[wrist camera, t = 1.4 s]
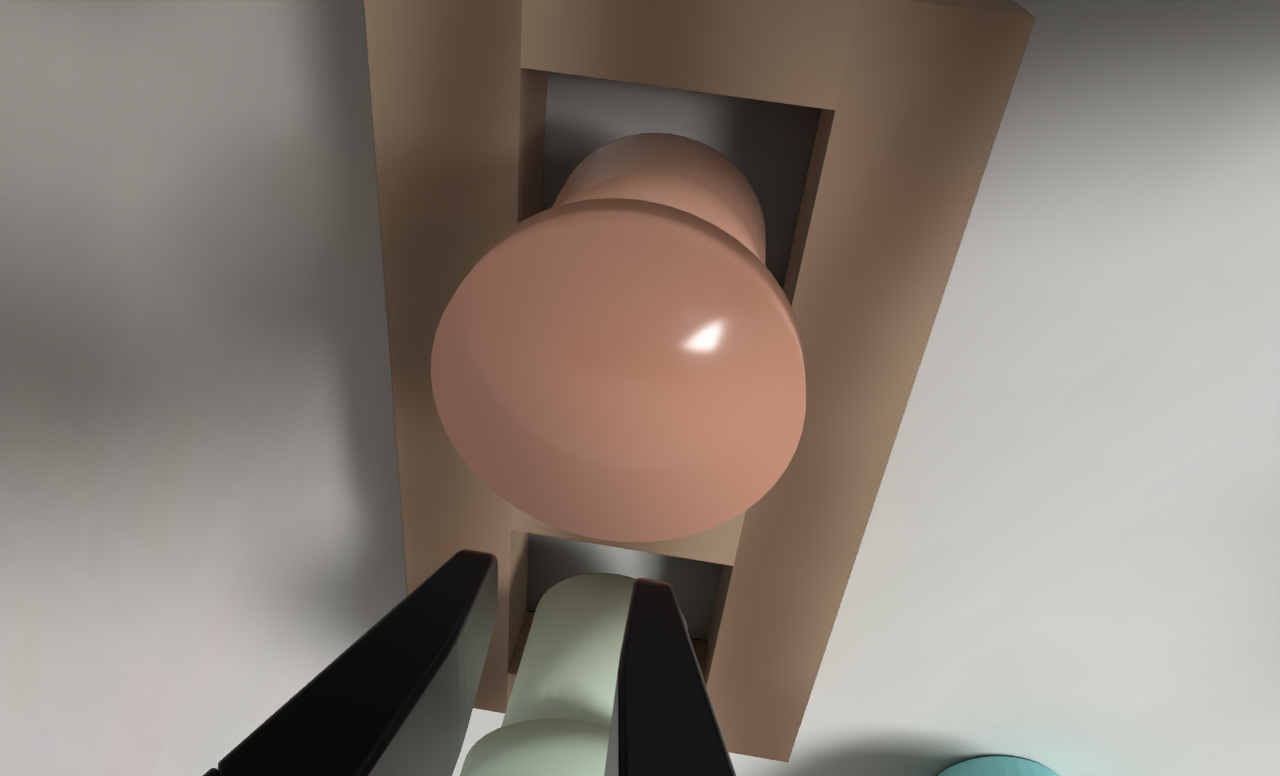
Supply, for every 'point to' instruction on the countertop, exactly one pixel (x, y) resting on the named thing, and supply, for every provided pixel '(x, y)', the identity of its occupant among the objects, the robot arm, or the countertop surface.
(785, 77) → the panel
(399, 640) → the robot arm
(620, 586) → the sage plunger
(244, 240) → the countertop surface
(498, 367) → the terracotta plunger
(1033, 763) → the cupcake
